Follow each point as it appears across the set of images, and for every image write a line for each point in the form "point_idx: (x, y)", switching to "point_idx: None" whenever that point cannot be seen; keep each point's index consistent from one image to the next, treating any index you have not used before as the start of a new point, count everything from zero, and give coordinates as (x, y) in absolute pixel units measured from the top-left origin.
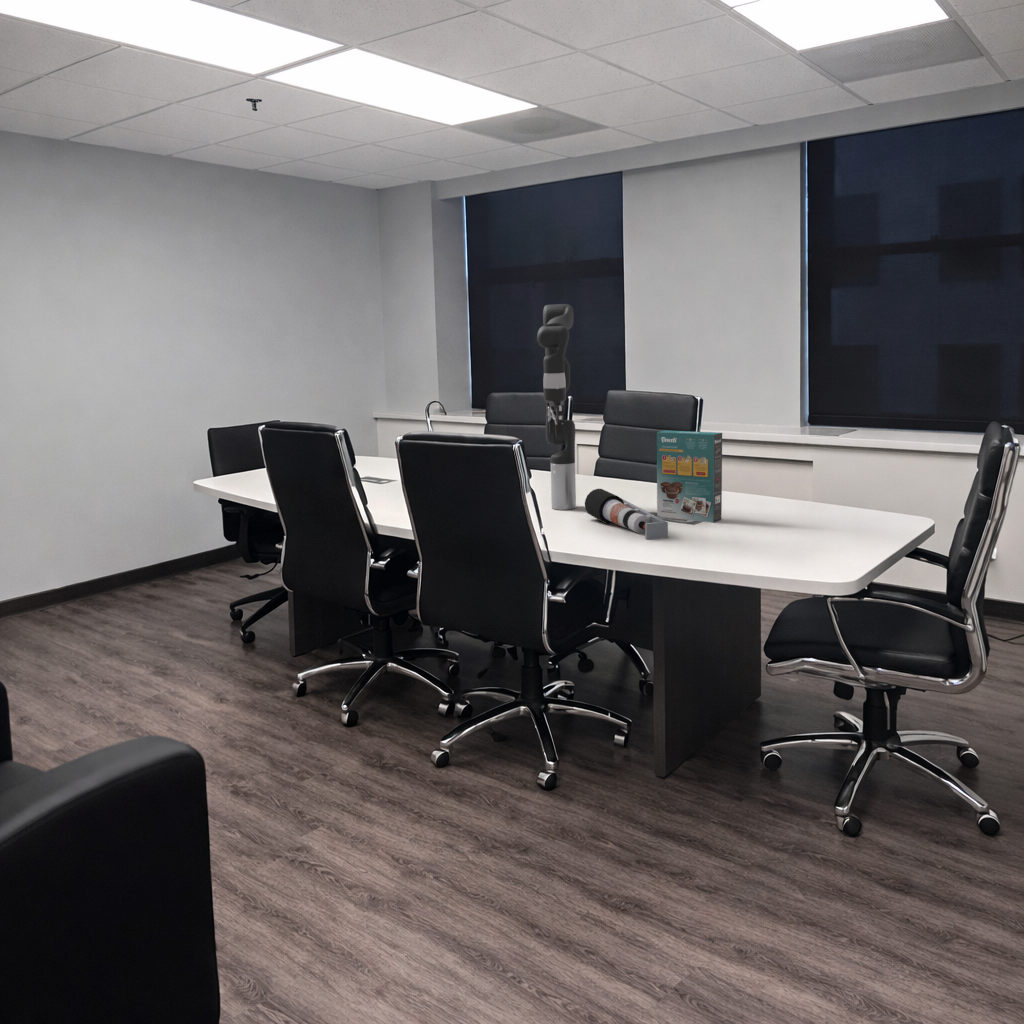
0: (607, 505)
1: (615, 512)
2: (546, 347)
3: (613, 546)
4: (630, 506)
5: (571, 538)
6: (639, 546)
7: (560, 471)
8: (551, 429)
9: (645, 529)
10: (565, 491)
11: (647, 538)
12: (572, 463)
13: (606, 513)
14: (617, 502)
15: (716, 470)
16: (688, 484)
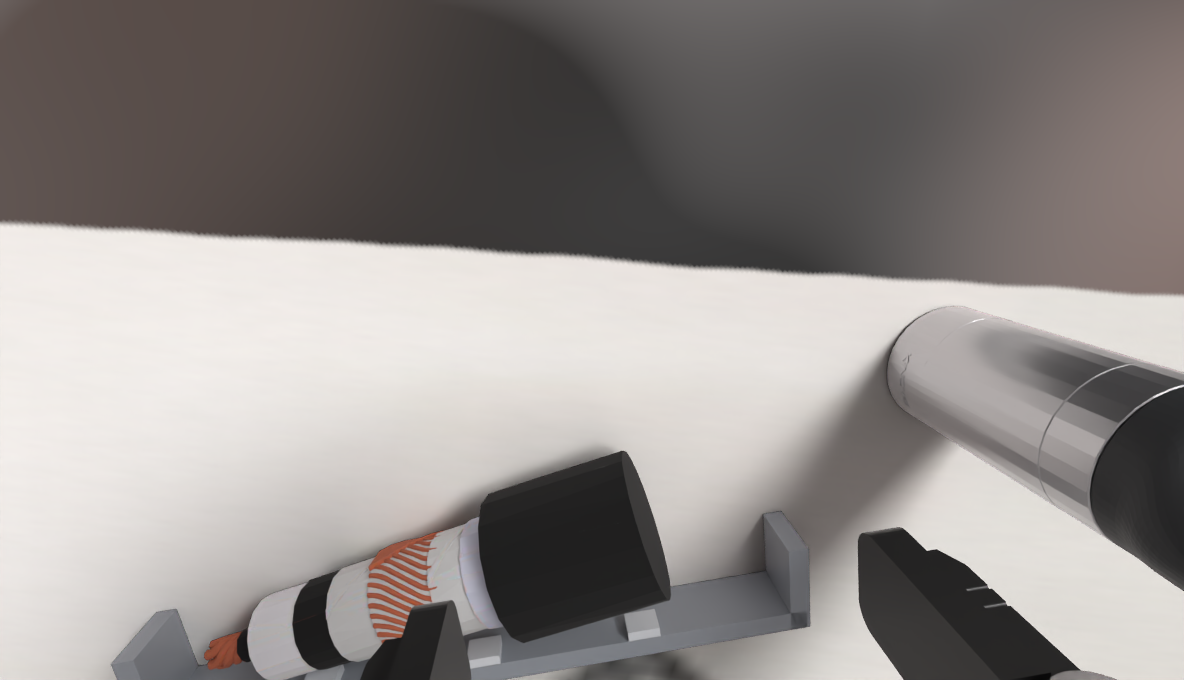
0: (463, 560)
1: (388, 572)
2: None
3: (14, 475)
4: (585, 645)
5: (199, 319)
6: (16, 570)
7: (1054, 423)
8: (893, 593)
9: (148, 638)
10: (947, 400)
11: (154, 617)
12: (1099, 530)
13: (459, 530)
14: None
15: None
16: None
